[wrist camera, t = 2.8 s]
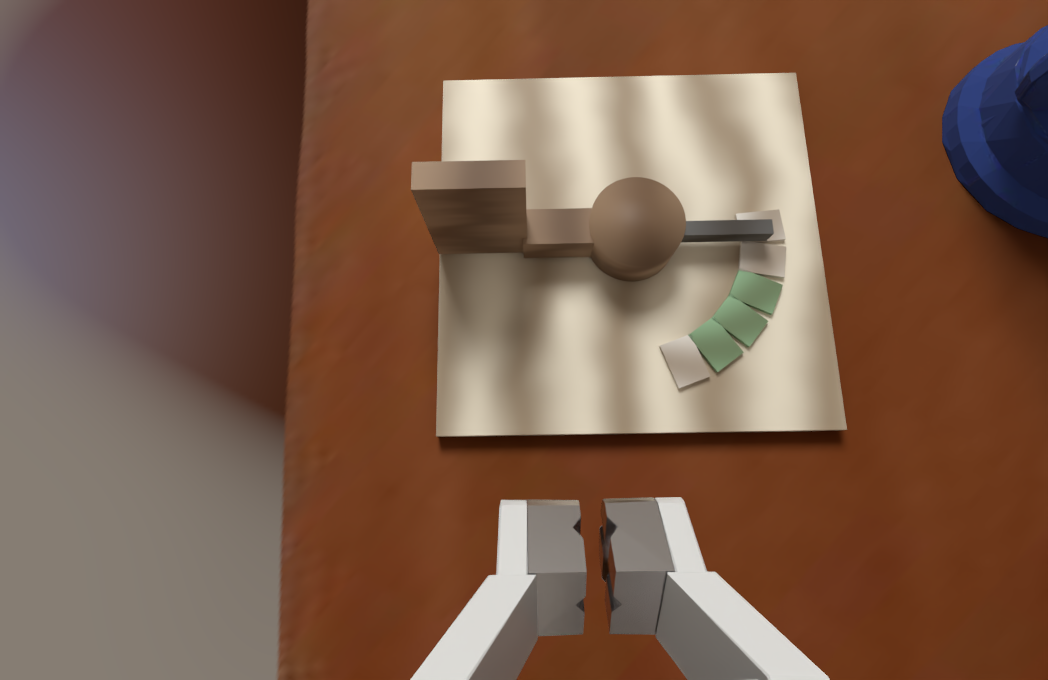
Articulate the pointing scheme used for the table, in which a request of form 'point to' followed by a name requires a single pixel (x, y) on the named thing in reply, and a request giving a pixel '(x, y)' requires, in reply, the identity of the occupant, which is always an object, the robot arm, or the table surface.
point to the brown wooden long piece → (562, 219)
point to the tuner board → (659, 301)
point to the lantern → (1004, 133)
